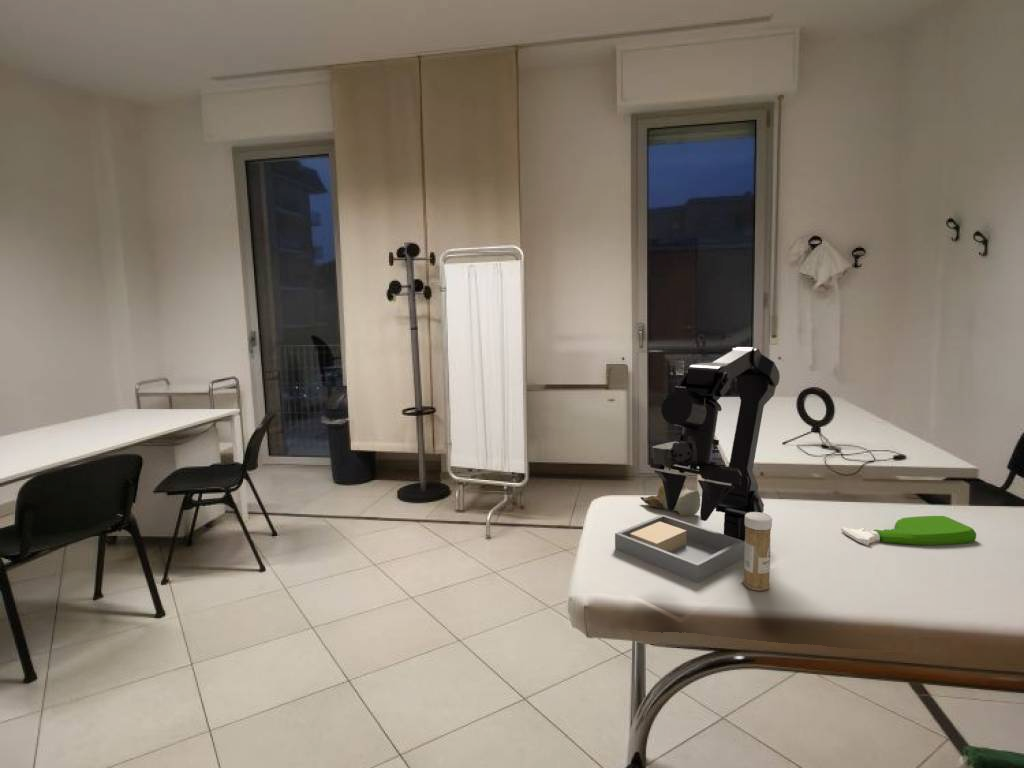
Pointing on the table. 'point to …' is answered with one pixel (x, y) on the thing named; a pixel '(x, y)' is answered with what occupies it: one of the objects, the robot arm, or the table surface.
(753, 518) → the sprinkles bottle
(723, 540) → the tote
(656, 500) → the ceramic sculpture
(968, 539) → the spray bottle
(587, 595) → the table surface
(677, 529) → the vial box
